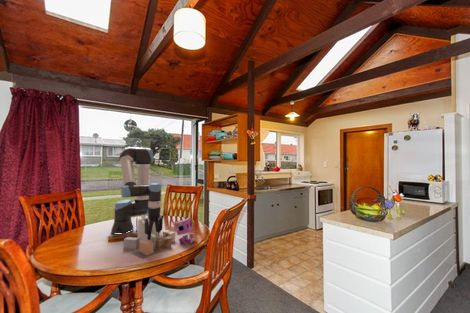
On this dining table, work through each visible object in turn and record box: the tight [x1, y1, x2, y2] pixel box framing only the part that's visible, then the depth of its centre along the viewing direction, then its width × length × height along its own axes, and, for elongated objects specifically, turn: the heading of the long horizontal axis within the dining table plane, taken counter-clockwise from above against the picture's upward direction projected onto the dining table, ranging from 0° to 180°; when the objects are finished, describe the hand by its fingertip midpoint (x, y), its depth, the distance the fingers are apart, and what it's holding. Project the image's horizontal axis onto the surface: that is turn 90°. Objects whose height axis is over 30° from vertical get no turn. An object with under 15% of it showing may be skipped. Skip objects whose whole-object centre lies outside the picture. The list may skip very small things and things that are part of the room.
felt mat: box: [130, 248, 162, 260], centre depth 129 cm, size 12×12×1 cm
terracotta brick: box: [138, 240, 154, 255], centre depth 129 cm, size 8×4×6 cm, turn 55°
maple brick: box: [162, 229, 176, 243], centre depth 150 cm, size 8×4×6 cm, turn 55°
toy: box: [174, 217, 196, 245], centre depth 149 cm, size 11×8×15 cm
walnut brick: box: [155, 236, 172, 251], centre depth 137 cm, size 8×4×6 cm, turn 130°
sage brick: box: [147, 233, 160, 248], centre depth 141 cm, size 8×4×6 cm, turn 56°
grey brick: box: [123, 236, 140, 250], centre depth 136 cm, size 8×4×6 cm, turn 85°
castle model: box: [137, 213, 163, 242], centre depth 153 cm, size 14×14×15 cm
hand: (153, 243), depth 141 cm, fingers closed on sage brick, 4 cm apart
